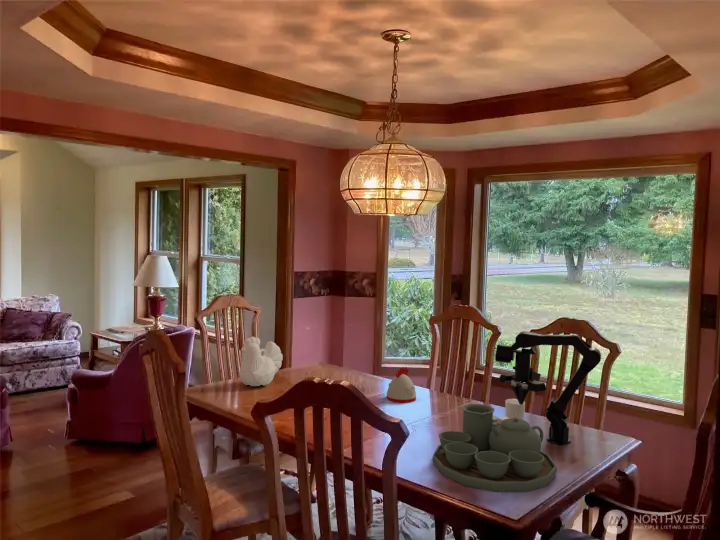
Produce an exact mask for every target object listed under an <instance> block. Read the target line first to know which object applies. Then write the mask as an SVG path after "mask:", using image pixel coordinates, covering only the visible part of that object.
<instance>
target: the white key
mask: <svg viewBox="0 0 720 540" xmlns="http://www.w3.org/2000/svg"><path fill="white" fill-rule="evenodd" d="M505 419H509V418H507V417H506V416H500V417H499V418H497V424H502V423H501V422H502V421H503V420H505Z"/></svg>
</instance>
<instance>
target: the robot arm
mask: <svg viewBox="0 0 720 540" xmlns="http://www.w3.org/2000/svg"><path fill="white" fill-rule="evenodd" d="M514 341H515V342H514V343H512V344H511V345H504V344H497V345H496V350H495V353H494V361H495V362H496V363H497V362H498V363H505V364H506V363H507V364H511V363H512V362H515V363H514V366H512V370H514V373H511V372H508V373H501V374H500V376H499V377H498V378H499V379H498V382H500V383H504V384H505V383H507V382H511V384H510V387H509V388H511V389H512V390H513V393H514V395H515V397H516V399H518V402H519V404H523V402H524V401H525V399H526V397H527V395H528V393H529V392H533V393H540V392H543V391H546V390H547V385H546V383H545V382H543V381H540V379H541V375H542V374H541V373H538V372H537V371H534V367H533V366H532V367H531V364H532V363H531V362H532V361H531V359H532V358H531V357H532V356H531V355H536V353H537V351H536V349H534V347H537V346H572V347H573V349H574V348H575V350H576V351H577V352H578V353H579V354H580V355H581V356H582V358H581V361H580V364H579V366H578V367H577V370H576V371H575V373H574V374H573V376H572V377H571V378H570V380H569V381H568V382H567V385H566V386H565V388H564V389H563V391H562V392H561V394H560V395H559V396H558V397H557V398H555V397H552V398H551V399H550V400H551V401H550V402H549V403H548V404H547V406H546V409H545V411H546V412H545V418H546V419H547V421H548V422H549V423H550V424H549V428H548V438H546V441H549V442H550V443H554V444H556V445H559V446H562V445H566V444H570V443H572V441H571V440H569V435H570V434H569V433H570V432H569V431H570V426H568V422H569V417H568V416H567V415H566V414H565V411H566V409H567V406H568V404H569V402H570V400H571V399H572V397H573V396H574V395H575V393H576V392H577V390H578V389H579V387H580V386H581V385H582V383H583V382H584V381H585V378H586V377H587V375H589V373H590V372H592V371H593V370H594V369H595V368H596V367H597V365H599V364H600V362H601V359H602V358H601V357H602V353H601V351H600V349H598V348H597V347H592V346H591V345H590V344H589V343H588V342H586V341H585V340H584V339H582V337H581V336H580V335H579V334H576V333H573V334H541V333H536V332H534V331H533V332H531V331H525V330H523V331H521V332H519V333H518V334H517V335H516V337H515V340H514ZM519 349H520V350H519Z"/></svg>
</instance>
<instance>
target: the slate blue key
mask: <svg viewBox="0 0 720 540" xmlns="http://www.w3.org/2000/svg"><path fill="white" fill-rule="evenodd" d="M497 418H500V417H499V416H497V415H494V414H493V422H497Z"/></svg>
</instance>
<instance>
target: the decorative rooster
mask: <svg viewBox="0 0 720 540" xmlns="http://www.w3.org/2000/svg"><path fill="white" fill-rule="evenodd" d="M260 344H261V339H260V338H259V337H255V336H251V337H247V338H245V340H244V344H243V345H242V348H241V349H240V350H241V359H242V360H241V365H240V367H239V368H240V369H239V379H240V382H242V384H244V385H245V386H247V385H250V386H249V387H261V386H260V385H263V386H267V385H266V384H268V385H269V384H271V382H272V381H273V379H274V377H275V374H276V373H278V372H279V369H280V368H281V367H282V364H283V363H282V361H283V357H284V355H283V353H282V351H281V348H280V346H279V345H277V344H276V342H273V341H271V340H270V341H267V342H266V345H265V347H264V348H260ZM262 352H263V353H262Z"/></svg>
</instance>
